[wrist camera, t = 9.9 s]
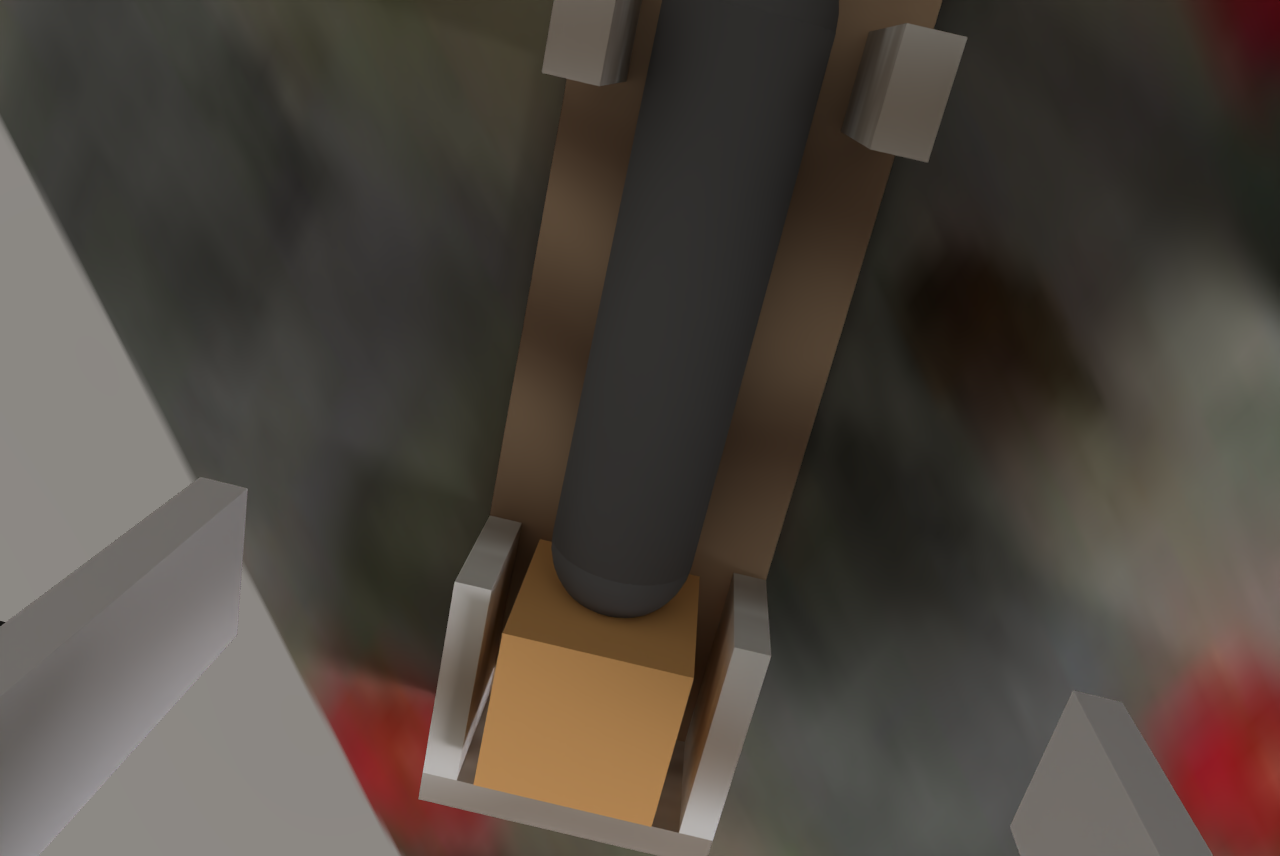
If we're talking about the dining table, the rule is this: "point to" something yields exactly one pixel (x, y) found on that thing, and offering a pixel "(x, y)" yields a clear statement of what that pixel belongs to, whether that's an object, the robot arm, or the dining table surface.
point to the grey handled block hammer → (656, 410)
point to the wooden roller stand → (765, 408)
